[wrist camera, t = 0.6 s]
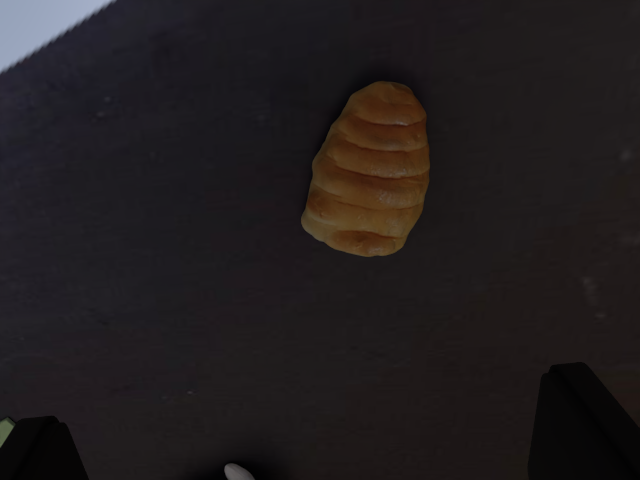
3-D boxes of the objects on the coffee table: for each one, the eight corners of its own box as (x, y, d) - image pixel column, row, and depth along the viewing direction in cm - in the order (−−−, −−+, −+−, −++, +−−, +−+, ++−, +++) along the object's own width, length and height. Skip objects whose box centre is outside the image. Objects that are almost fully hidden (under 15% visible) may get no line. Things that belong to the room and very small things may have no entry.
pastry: (327, 66, 26) (335, 77, 23) (447, 90, 27) (472, 103, 24) (297, 227, 30) (300, 256, 27) (403, 242, 31) (419, 272, 28)
